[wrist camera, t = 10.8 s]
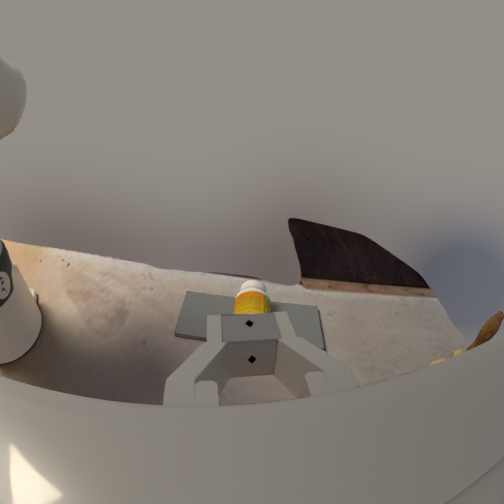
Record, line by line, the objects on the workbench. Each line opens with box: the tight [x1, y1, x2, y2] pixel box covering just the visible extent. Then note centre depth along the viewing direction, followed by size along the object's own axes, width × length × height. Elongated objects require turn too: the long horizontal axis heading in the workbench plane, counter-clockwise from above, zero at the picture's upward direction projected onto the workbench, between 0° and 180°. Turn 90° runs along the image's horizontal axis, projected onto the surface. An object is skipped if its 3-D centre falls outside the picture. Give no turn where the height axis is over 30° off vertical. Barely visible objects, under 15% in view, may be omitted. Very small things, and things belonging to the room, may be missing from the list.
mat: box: [175, 291, 324, 350], centre depth 42 cm, size 22×9×1 cm, turn 88°
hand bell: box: [430, 311, 504, 365], centre depth 30 cm, size 8×8×16 cm
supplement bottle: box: [233, 280, 271, 314], centre depth 39 cm, size 5×5×10 cm
